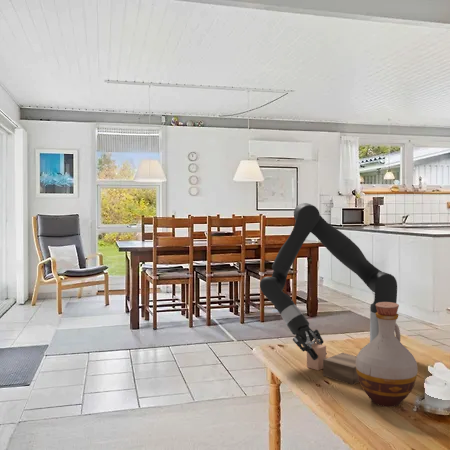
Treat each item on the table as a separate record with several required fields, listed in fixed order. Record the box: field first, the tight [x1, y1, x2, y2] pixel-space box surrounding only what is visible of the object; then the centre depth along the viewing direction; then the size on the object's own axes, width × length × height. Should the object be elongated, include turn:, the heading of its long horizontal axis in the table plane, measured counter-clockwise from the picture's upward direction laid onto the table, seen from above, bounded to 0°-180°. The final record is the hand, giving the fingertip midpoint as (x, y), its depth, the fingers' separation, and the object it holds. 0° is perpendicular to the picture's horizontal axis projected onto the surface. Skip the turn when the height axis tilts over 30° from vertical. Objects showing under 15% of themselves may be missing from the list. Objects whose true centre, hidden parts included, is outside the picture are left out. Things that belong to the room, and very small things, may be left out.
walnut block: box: [322, 352, 360, 385], centre depth 169 cm, size 12×12×6 cm
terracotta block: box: [306, 342, 327, 371], centre depth 178 cm, size 5×5×8 cm
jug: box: [356, 302, 418, 408], centre depth 147 cm, size 20×18×30 cm
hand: (320, 357), depth 177 cm, fingers closed on terracotta block, 5 cm apart
